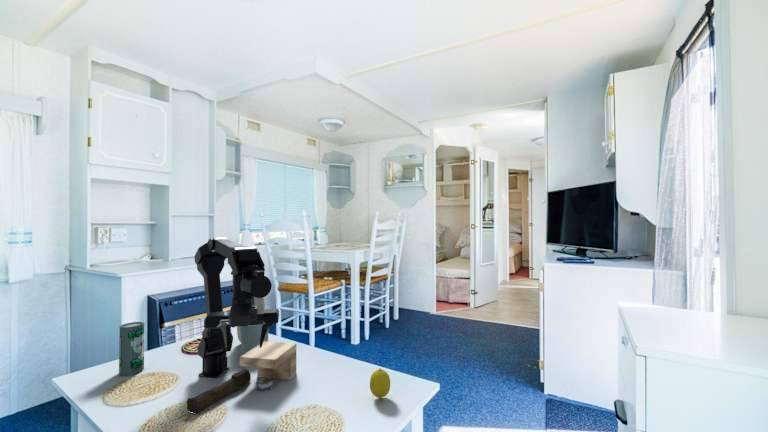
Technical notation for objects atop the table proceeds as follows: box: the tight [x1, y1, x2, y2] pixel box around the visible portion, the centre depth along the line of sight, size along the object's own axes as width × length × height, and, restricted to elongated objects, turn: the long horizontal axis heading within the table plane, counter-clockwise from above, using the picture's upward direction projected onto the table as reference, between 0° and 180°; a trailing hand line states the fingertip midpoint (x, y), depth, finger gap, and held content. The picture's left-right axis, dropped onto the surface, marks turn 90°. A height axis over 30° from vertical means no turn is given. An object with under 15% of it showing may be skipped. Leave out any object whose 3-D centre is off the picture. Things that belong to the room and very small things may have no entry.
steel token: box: [256, 377, 274, 393], centre depth 97 cm, size 4×4×2 cm
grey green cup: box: [240, 320, 270, 356], centre depth 122 cm, size 10×10×12 cm
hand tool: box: [186, 368, 252, 414], centre depth 92 cm, size 19×4×5 cm, turn 153°
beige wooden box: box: [239, 340, 297, 380], centre depth 101 cm, size 11×13×10 cm
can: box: [118, 321, 145, 377], centre depth 109 cm, size 6×6×15 cm
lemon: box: [369, 368, 391, 400], centre depth 91 cm, size 6×6×8 cm
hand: (243, 348), depth 94 cm, fingers open, 9 cm apart
